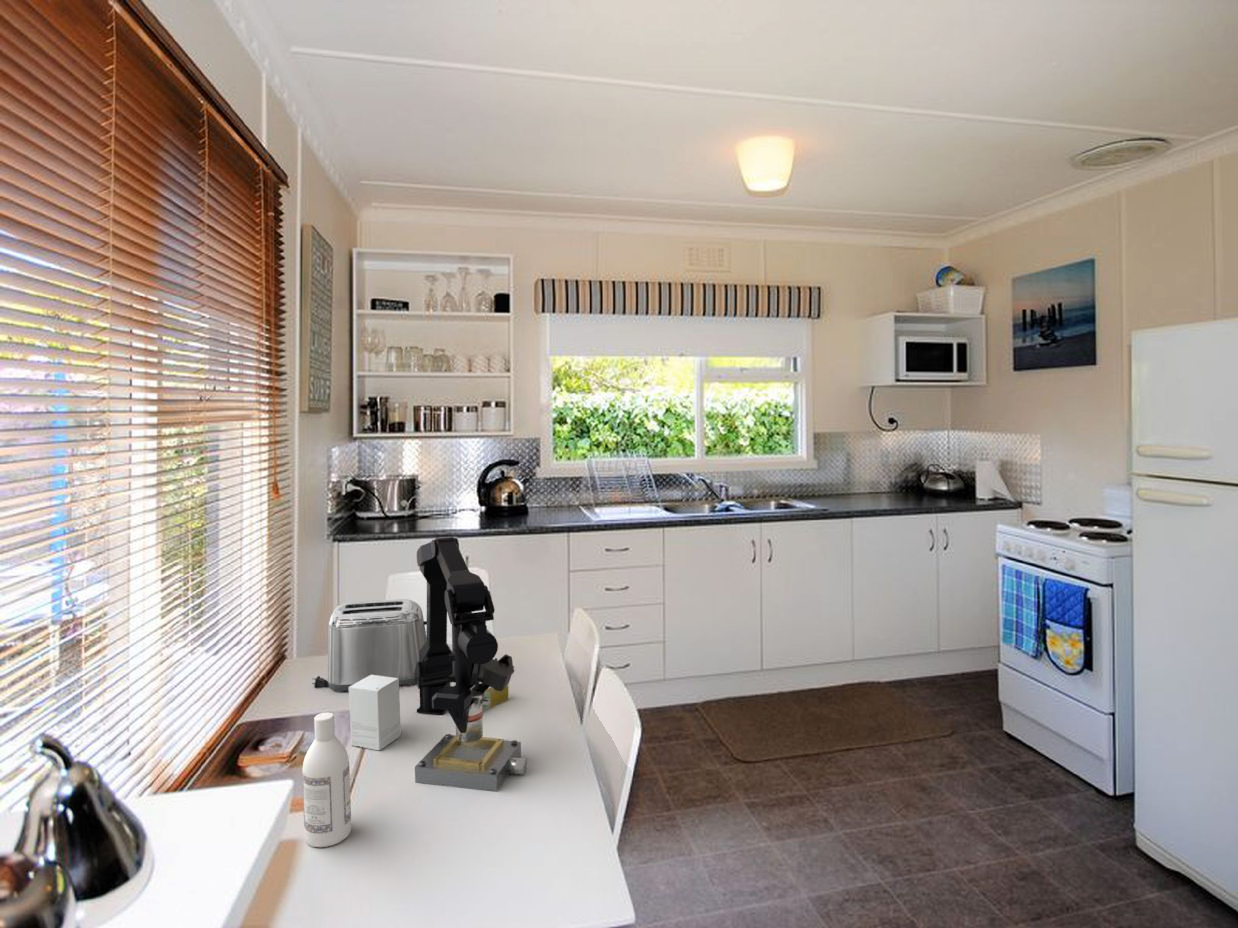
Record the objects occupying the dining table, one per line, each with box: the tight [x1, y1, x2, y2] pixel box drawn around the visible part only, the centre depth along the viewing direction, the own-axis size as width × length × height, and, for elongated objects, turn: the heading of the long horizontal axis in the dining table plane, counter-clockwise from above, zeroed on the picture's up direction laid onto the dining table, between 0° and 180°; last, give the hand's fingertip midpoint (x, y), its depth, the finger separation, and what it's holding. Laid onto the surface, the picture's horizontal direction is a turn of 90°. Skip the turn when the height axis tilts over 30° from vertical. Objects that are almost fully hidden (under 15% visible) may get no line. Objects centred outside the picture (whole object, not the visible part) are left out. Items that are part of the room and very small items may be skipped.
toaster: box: [311, 598, 427, 693], centre depth 176 cm, size 17×30×19 cm, turn 104°
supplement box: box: [348, 675, 402, 751], centre depth 143 cm, size 7×7×13 cm
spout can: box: [455, 691, 491, 743], centre depth 131 cm, size 7×5×8 cm
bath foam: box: [301, 711, 352, 848], centre depth 110 cm, size 7×7×20 cm
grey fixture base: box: [414, 733, 528, 792], centre depth 131 cm, size 19×13×4 cm
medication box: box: [482, 684, 509, 712], centre depth 160 cm, size 12×3×4 cm, turn 143°
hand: (469, 726), depth 131 cm, fingers closed on spout can, 5 cm apart
